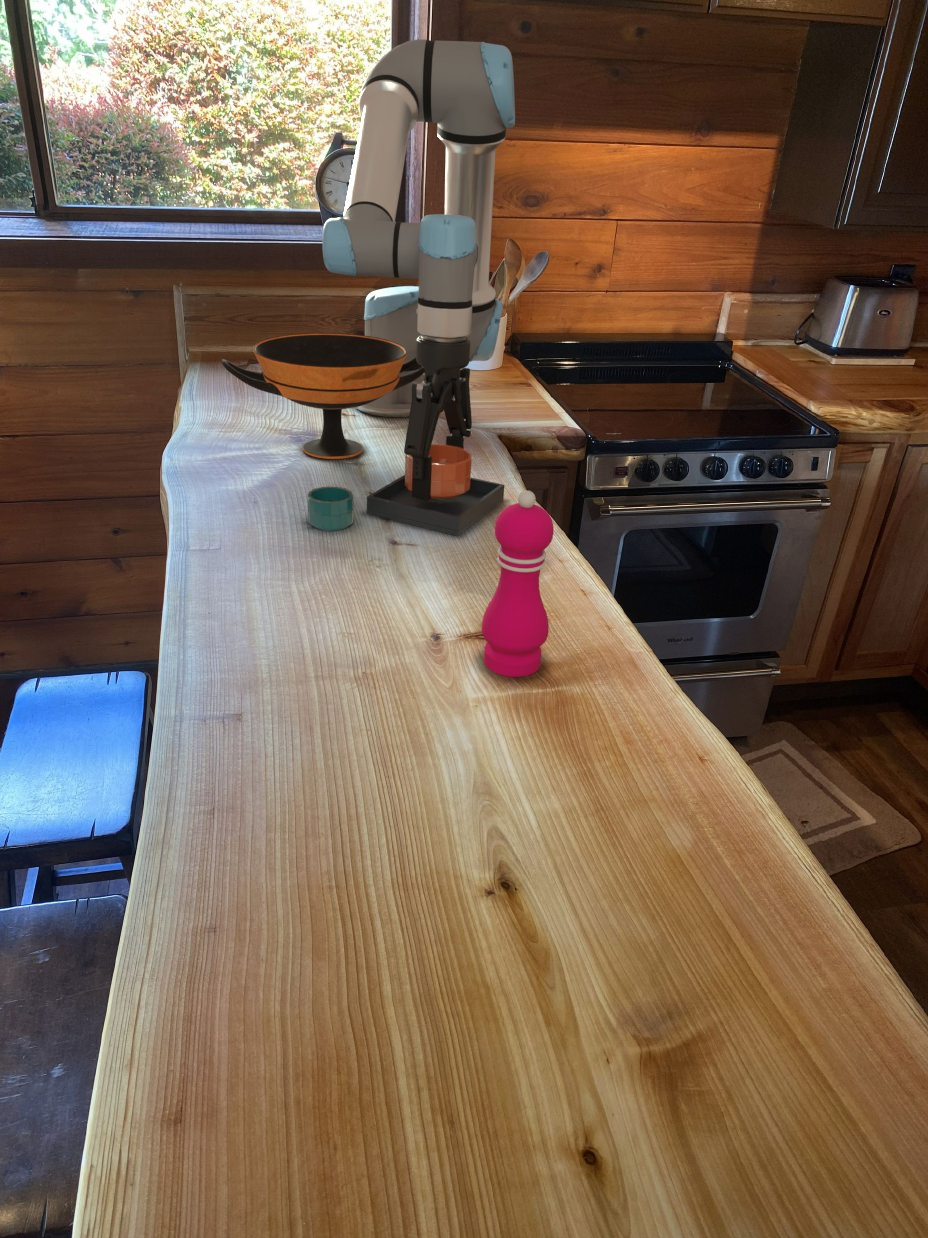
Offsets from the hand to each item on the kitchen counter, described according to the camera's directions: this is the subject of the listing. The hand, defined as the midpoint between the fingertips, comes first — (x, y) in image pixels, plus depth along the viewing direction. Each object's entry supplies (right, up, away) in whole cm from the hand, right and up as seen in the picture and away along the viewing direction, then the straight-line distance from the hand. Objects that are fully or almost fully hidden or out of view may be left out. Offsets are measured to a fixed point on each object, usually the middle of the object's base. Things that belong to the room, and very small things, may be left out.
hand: (437, 487), depth 136 cm
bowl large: (0, 0, 0) cm, 0 cm away
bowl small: (-15, -6, -6) cm, 17 cm away
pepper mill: (+9, -25, -37) cm, 46 cm away
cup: (-19, +10, +23) cm, 32 cm away
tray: (0, -3, +2) cm, 3 cm away
